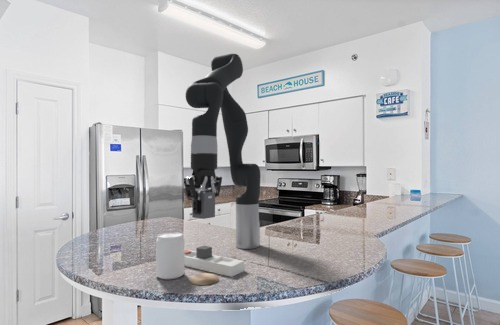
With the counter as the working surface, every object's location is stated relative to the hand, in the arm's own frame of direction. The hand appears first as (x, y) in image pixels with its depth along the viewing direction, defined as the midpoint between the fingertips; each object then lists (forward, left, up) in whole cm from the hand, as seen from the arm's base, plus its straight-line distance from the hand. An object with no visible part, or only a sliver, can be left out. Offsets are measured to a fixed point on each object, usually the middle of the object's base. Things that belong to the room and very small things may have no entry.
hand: (203, 212), depth 90 cm
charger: (0, 0, -1) cm, 1 cm away
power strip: (-10, -8, -19) cm, 23 cm away
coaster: (0, 0, -19) cm, 19 cm away
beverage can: (+3, -11, -19) cm, 22 cm away
